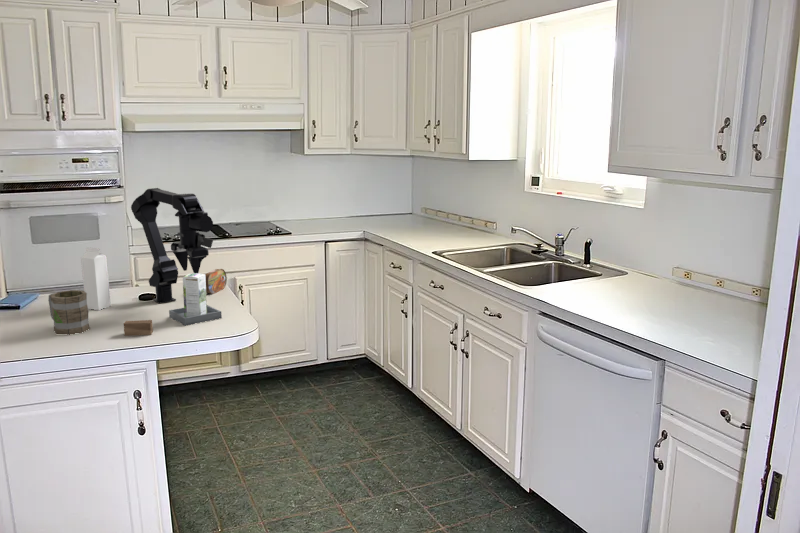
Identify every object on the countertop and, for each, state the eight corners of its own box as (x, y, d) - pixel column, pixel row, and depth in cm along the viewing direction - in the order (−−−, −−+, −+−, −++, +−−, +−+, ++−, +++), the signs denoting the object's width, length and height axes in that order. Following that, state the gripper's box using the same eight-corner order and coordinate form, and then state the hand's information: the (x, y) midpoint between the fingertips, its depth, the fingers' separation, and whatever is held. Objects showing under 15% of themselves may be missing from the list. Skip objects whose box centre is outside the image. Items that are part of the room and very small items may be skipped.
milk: (98, 310, 241) (93, 250, 236) (85, 309, 243) (79, 248, 238) (111, 306, 247) (105, 247, 242) (98, 304, 249) (92, 245, 244)
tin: (209, 296, 262) (208, 274, 260) (202, 295, 262) (200, 274, 261) (227, 287, 276) (226, 266, 274) (220, 286, 277) (219, 266, 275)
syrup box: (191, 313, 235) (189, 272, 232) (207, 314, 234) (205, 273, 231) (184, 318, 229) (181, 276, 226) (200, 318, 228) (198, 277, 225)
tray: (169, 317, 233) (168, 310, 233) (204, 310, 241) (204, 303, 241) (185, 325, 224) (184, 318, 223) (221, 318, 232) (221, 311, 231)
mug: (97, 328, 220) (94, 292, 218) (67, 337, 211) (63, 300, 209) (67, 321, 228) (64, 286, 226) (37, 329, 219) (33, 293, 217)
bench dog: (126, 332, 216) (125, 320, 215) (153, 331, 217) (152, 319, 216) (124, 335, 213) (123, 323, 212) (150, 334, 214) (150, 322, 213)
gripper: (221, 230, 238) (223, 273, 241) (198, 224, 251) (200, 265, 255) (191, 233, 230) (193, 278, 234) (168, 227, 244) (171, 269, 247)
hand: (190, 272), depth 243 cm, fingers open, 9 cm apart
